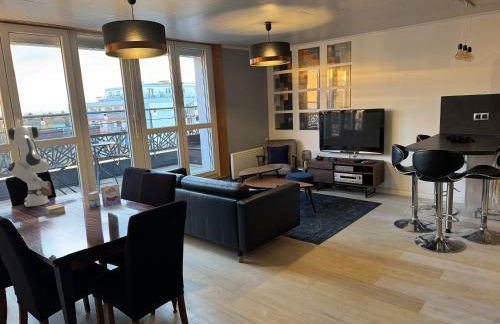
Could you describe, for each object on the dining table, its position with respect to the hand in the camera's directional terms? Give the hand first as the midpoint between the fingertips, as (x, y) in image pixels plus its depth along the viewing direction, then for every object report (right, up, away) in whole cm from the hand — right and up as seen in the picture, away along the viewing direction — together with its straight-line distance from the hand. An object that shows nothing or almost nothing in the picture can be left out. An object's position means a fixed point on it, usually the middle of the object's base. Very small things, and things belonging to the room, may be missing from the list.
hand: (47, 188), depth 265 cm
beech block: (+4, -21, +5) cm, 22 cm away
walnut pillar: (0, -5, 0) cm, 5 cm away
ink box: (+29, -17, +19) cm, 39 cm away
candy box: (+42, -16, +22) cm, 50 cm away
